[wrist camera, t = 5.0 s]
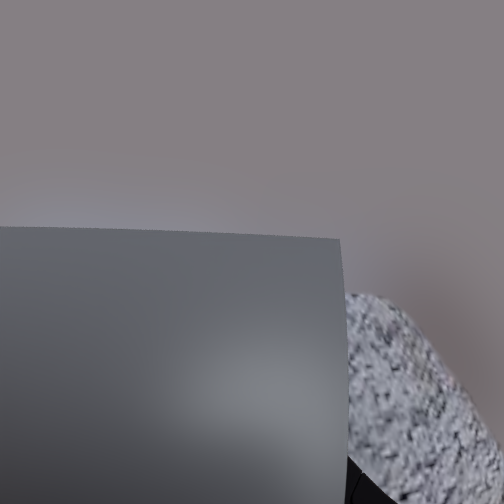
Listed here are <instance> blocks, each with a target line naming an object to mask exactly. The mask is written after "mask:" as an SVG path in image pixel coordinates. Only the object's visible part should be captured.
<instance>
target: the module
mask: <svg viewBox="0 0 504 504" xmlns="http://www.w3.org/2000/svg"><path fill="white" fill-rule="evenodd" d="M348 422H349V376H348V342H347V322H346V306H345V292H344V279H343V269H342V258H341V249H340V240H339V239H328V238H311V237H293V236H275V235H274V236H273V235H254V234H234V233H211V232H187V231H162V230H130V229H99V228H57V227H0V504H344V499H345V487H346V473H347V454H348Z"/></svg>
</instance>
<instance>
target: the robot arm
mask: <svg viewBox="0 0 504 504" xmlns="http://www.w3.org/2000/svg"><path fill="white" fill-rule="evenodd" d="M361 473H362V470H361V469H360V468H359V467H358V466H357V465H356V464H355V463H354V462H353V461H352V460H351V458H350V457H349V456H348V455H347V473H346V487H345V499H344V504H397V503H396V502H395V501H394V500H392V499H391V498H390V497H389V496H388V495H386V494H385V493H384V492H383V491H382V490H381V489H380V488H379V487H378V486H377V485H376V484H375V483H374V482H373V481H372V480H371V479H370V478H369V477H368V476H367V475H366V474H365V473H362V474H361Z"/></svg>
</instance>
